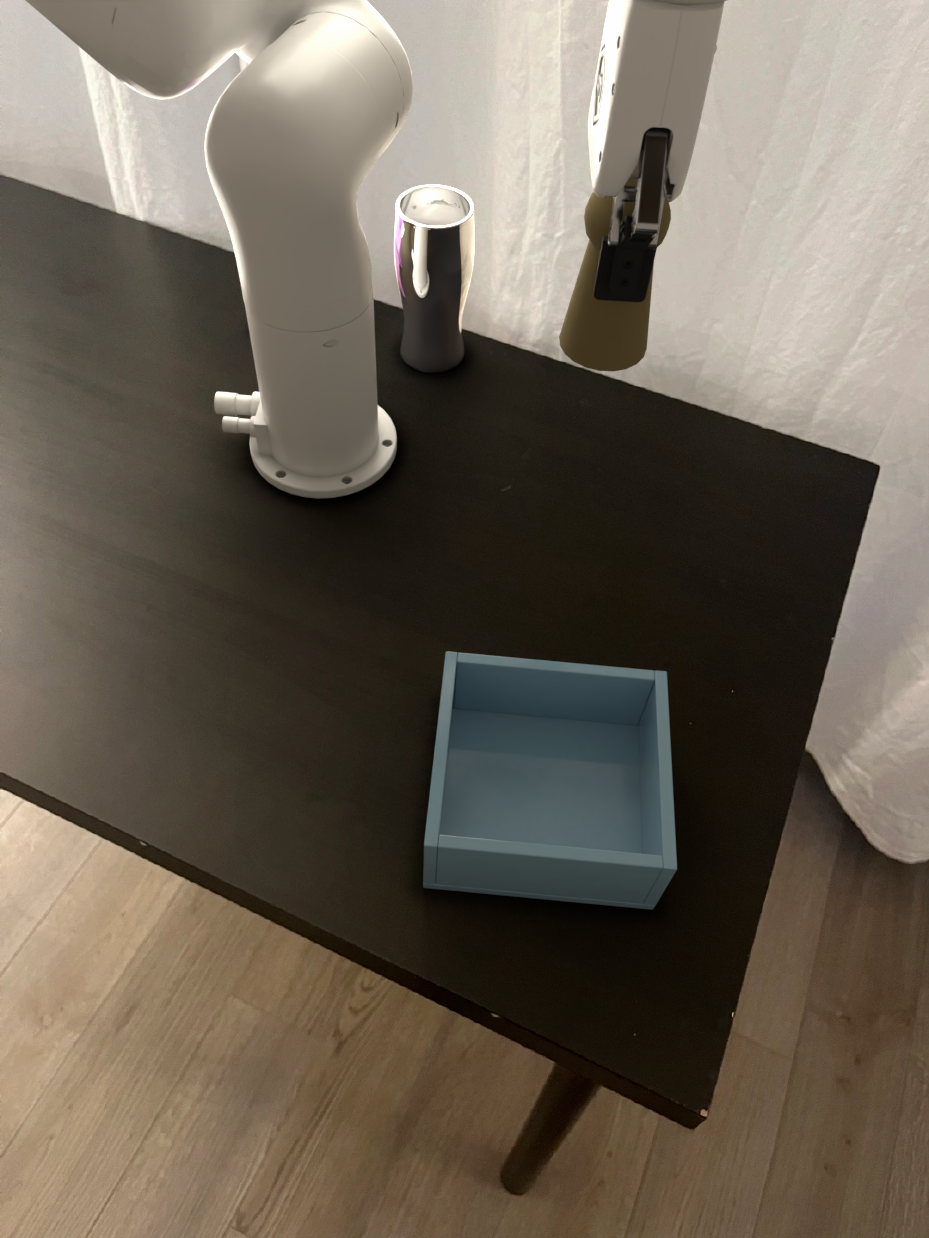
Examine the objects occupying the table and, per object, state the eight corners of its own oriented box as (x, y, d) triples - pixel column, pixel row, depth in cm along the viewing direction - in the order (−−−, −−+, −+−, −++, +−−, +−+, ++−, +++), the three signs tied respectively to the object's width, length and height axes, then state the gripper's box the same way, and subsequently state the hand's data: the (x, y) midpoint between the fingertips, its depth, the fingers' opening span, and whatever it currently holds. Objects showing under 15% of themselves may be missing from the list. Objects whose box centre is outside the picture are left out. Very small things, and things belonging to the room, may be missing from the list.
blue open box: (422, 888, 60) (423, 845, 55) (442, 704, 68) (445, 650, 63) (653, 910, 60) (677, 869, 55) (646, 722, 68) (667, 671, 63)
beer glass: (443, 386, 88) (447, 239, 76) (381, 358, 90) (376, 210, 78) (482, 347, 92) (492, 200, 80) (422, 321, 94) (423, 174, 82)
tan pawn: (644, 377, 64) (682, 224, 55) (554, 364, 64) (577, 211, 55) (648, 322, 67) (684, 170, 58) (563, 310, 67) (586, 158, 59)
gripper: (596, -127, 51) (555, 193, 66) (611, 10, 41) (559, 352, 56) (735, -117, 51) (663, 200, 66) (784, 21, 41) (687, 360, 56)
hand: (616, 267), depth 61 cm, fingers closed on tan pawn, 5 cm apart
